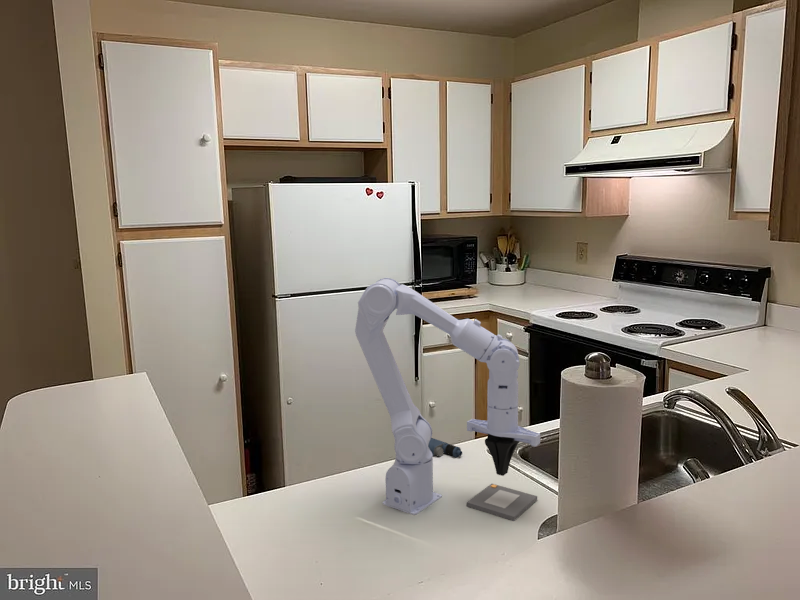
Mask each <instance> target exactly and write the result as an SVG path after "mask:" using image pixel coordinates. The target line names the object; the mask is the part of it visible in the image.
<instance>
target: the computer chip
mask: <svg viewBox="0 0 800 600" xmlns="http://www.w3.org/2000/svg"><path fill="white" fill-rule="evenodd" d="M537 501H538V495H534V494H530V493H528V492H523V491H522V490H521V491H519V490H516V489H513V488H511V487H506V486H503V485H498V484H496V483H491V484H489V485H488V486H486V487H485V488H483V490H481V491H479V492H478V493H477V494H476V495H474V496H473V497H472V498H470V499H468V500H467V501H466V503H465V504H466V507H468V508H472V509H473V510H474V509H475V510H477V511H480V512H483V513H484V512H485V513H487V514H491V515H493V516H496V517H500V518H504V519H506V520H509V521H513V522H515V520H517V519H518V518H519V517H520V516H522V515H523V513H525V512H526V511H527V510H528V509H529V508H531V506H533V504H535V503H536V502H537Z"/></svg>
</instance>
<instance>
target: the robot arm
mask: <svg viewBox="0 0 800 600" xmlns="http://www.w3.org/2000/svg"><path fill="white" fill-rule="evenodd" d="M357 304H358V306H357V307H358V309H357V316H356V323H355V329H354V332H355V336H356V339H357V341H358V344H359V346H360V348H361V351H362V352H363V355H364V358H365V360H366V362H367V364H368V368H369V369H370V372H371V374H372V377H373V379H374V381H375V383H376V386H377V388H378V390H379V393H380V395H381V398H382V400H383V403H384V405H385V407H386V409H387V412H388V414H389V417H390V424H391V425H390V426H391V427H390V428H391V431H392V432H391V433H392V435H393V438H394V451H395V459H394V462H393V464H392V465H391V466H390V467H389V468H388V469H387V470H386V473H385V500H383V501H382V505H383V506H387V507H389V508H392V509H395V510H398V511H401V512H404V513H407V514H410V515H413V516H415V515H418V514H419V513H421V512H422V511H424V510H425V509H426V508H429V507H430V506H431V505H433V504H434V503H436V502H437V501H439V500H440V499H441V498H443V495H442V494H441V493H437V492H434V463H433V460H434V459H433V457H434V455H433V454H432V452H431V451H430V449H429V447H428V445H429V441H430V439H431V438H433V428H432V426H431V423H429V421H427V419H426V418H425V417H424V416H423V415H422V414H421V411H420V409H419V408H418V407H417V405H415V404H414V402H413V400H412V397H411V395H410V393H409V390H408V388H407V385H406V383H405V381H404V379H403V376H402V374H401V373H402V372H400V369H399V366H398V364H397V362H396V360H395V359H396V358H395V357H394V355H393V351H392V349H391V348H390V347H391V346H390V345H389V343H388V341H387V338H386V336H385V333H384V329H385V328H386V324H387V322H388V321H389V318H390V316H391V314H392V313H393V312H394V311H395V310H396V312H395V315H396V316H401V315H414V316H416V317H417V318H419V319H421V320H424V321H425V322H426V323H428V324H430V325H431V326H434V327H435V328H437V329H439V330H441V331H442V332H444V333H445V334H447V335H449V337H450V340H451V344H452V346H454V347H456V348H458V349H460V350H461V351H463V352H464V353H466V354H467V355H469V356H471V357H472V358H474V359H476V360H477V361H478V362H480V363H486V366H487V367H486V368H487V369H488V379H487V393H486V394H487V400H486V401H487V403H486V404H487V408H486V409H487V420H483V419H482V420H481V419H475V418H471V419H469V420H467V421H466V431H467V432H470V433H471V432H477V433H481V434H485V435H487V438H485V439H484V444H485V446H486V447H487V449H488V452H489V453H490V455H491V458H492V460H493V464H494V469H495V473H496V475H498V476H502V477H504V476H506V474H508V473H509V468H510V465H511V460H512V457H513V455H514V453H515V450H516V448H517V446H518V445H519V443H520V442H521V443H526V444H529V445H530V446H531V447H538V446H539V445H540V444H541V433H540V432H537V431H534V430H533V431H532V430H530V429H529V428H525V427H523V426H519V380H518V377H519V371H518V370H519V368H520V365H521V364H520V363H521V361H520V358H519V357H520V356H519V350H518V349H517V346H516V345H515V344H514V343H513V342H511V340H510V339H507V338H503V335H501V334H499V333H498V334H497V335H496V334H494V333H493V332H492V331H489V330H488V329H487V328H485V327H483V326H482V325H481V324H482V322H481V321H480V320H478V319H477V318H475V319H474V320H472V319H470V318H464V319H459V318H456V317H454V316H453V315H452V314H450V313H448V311H446V310H444V309H443V308H442V307H440V306H439V305H437V304H436V303H434V302H433V301H431V300H430V299H428V298H426V297H425V296H424V295H422V294H421V293H419V292H418V291H416V290H414V289H413V288H411V287H410V286H408V285H405V284H403V283H399V282H398V281H397V280H396V279H394V278H391V277H383V278H380V279H378V280H377V281H376V282H375V283H372V284H370V285H368V286H367V287H366V288H365V289H364V291H363V293H362V295H361V297H360V298H359V300H358V302H357Z"/></svg>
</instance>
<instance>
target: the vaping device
mask: <svg viewBox="0 0 800 600" xmlns="http://www.w3.org/2000/svg"><path fill="white" fill-rule="evenodd" d="M428 447H429V449H430V451H431V452H432V454H433V457H442V456H443V455H444V454H445V455H448V456H451V457H454V458H458V457H460V456H462V455H463V451H462V448H461V447H460V446H456V445H453V444H450V443H448V442H445V441H442V440H440V439H436V438H433V437H431V439H430V441H429V445H428Z"/></svg>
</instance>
